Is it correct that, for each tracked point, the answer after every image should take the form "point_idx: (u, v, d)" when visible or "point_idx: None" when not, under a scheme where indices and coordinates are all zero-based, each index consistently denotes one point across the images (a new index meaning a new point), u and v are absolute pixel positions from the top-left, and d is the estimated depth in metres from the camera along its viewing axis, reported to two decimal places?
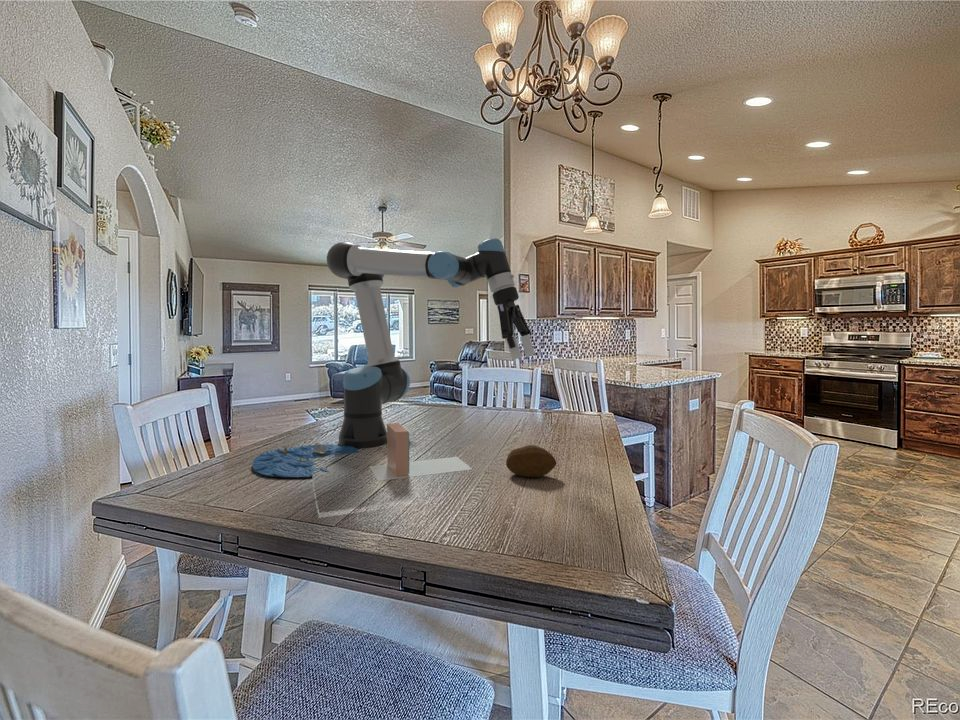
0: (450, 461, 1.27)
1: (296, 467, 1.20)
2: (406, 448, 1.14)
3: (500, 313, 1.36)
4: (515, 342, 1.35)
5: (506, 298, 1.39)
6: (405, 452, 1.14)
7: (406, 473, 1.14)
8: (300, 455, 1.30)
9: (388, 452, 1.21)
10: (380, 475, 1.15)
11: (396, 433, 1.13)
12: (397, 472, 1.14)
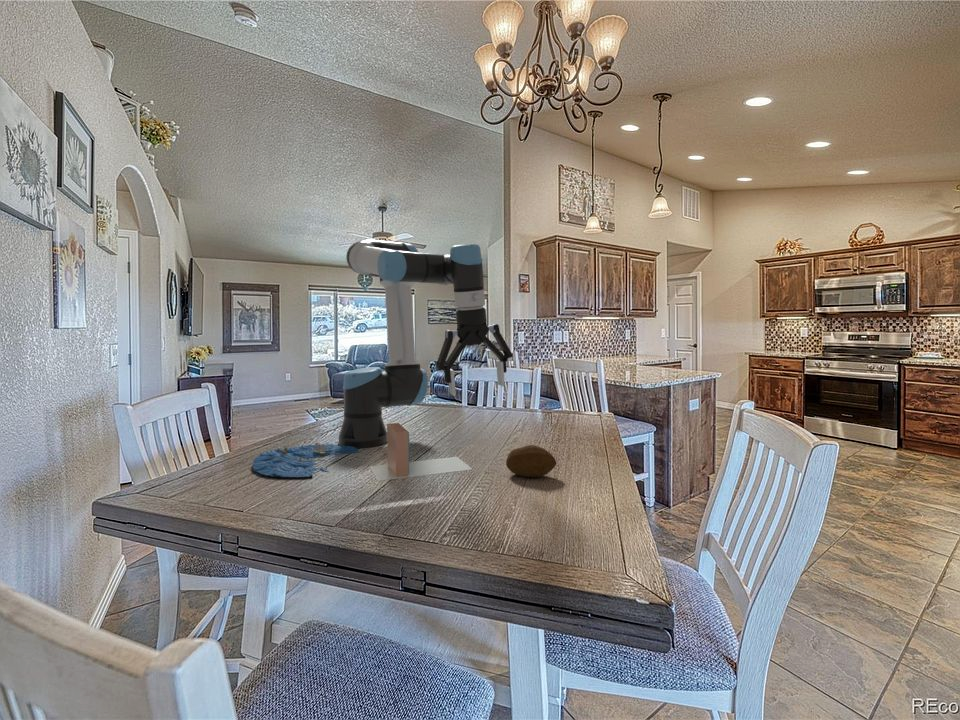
0: (450, 461, 1.27)
1: (296, 467, 1.20)
2: (406, 448, 1.14)
3: (445, 340, 1.18)
4: (451, 377, 1.18)
5: (460, 323, 1.16)
6: (405, 452, 1.14)
7: (406, 473, 1.14)
8: (300, 455, 1.30)
9: (388, 452, 1.21)
10: (380, 475, 1.15)
11: (396, 433, 1.13)
12: (397, 472, 1.14)
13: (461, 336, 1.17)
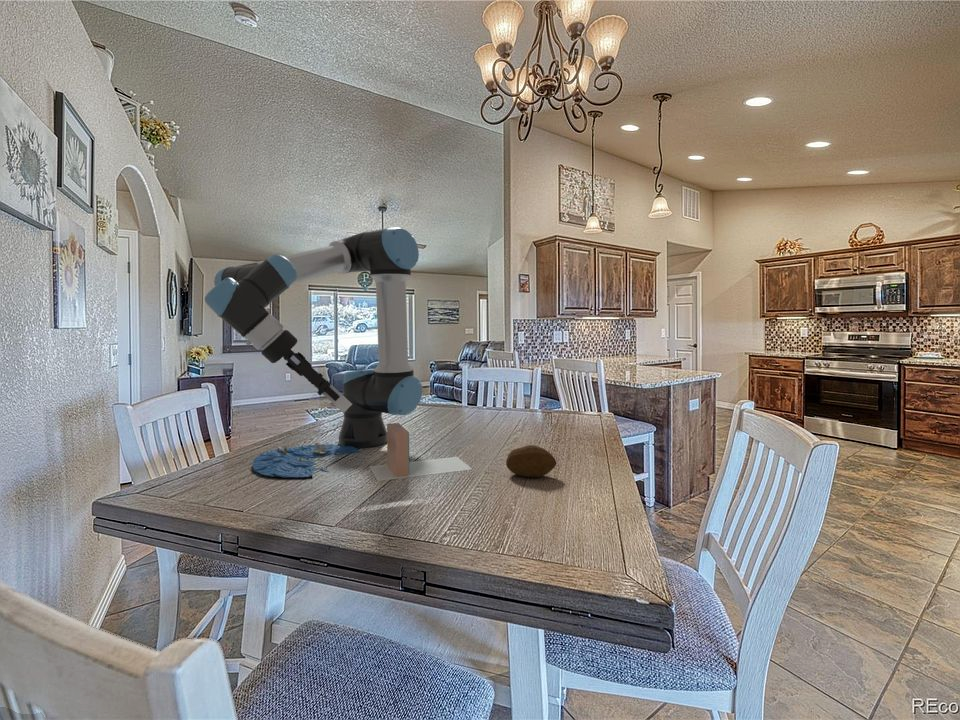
0: (450, 461, 1.27)
1: (296, 467, 1.20)
2: (406, 448, 1.14)
3: None
4: None
5: None
6: (405, 452, 1.14)
7: (406, 473, 1.14)
8: (300, 455, 1.30)
9: (388, 452, 1.21)
10: (380, 475, 1.15)
11: (396, 433, 1.13)
12: (397, 472, 1.14)
13: None
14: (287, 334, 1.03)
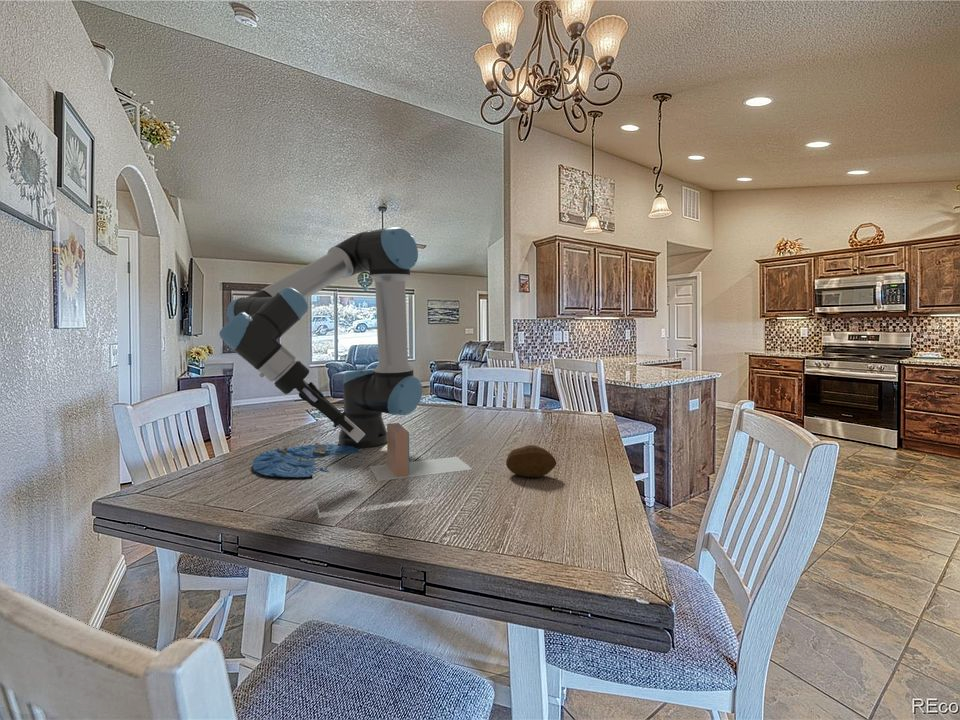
0: (450, 461, 1.27)
1: (296, 467, 1.20)
2: (406, 448, 1.14)
3: None
4: None
5: None
6: (405, 452, 1.14)
7: (406, 473, 1.14)
8: (300, 455, 1.30)
9: (388, 452, 1.21)
10: (380, 475, 1.15)
11: (396, 433, 1.13)
12: (397, 472, 1.14)
13: None
14: (299, 366, 1.05)
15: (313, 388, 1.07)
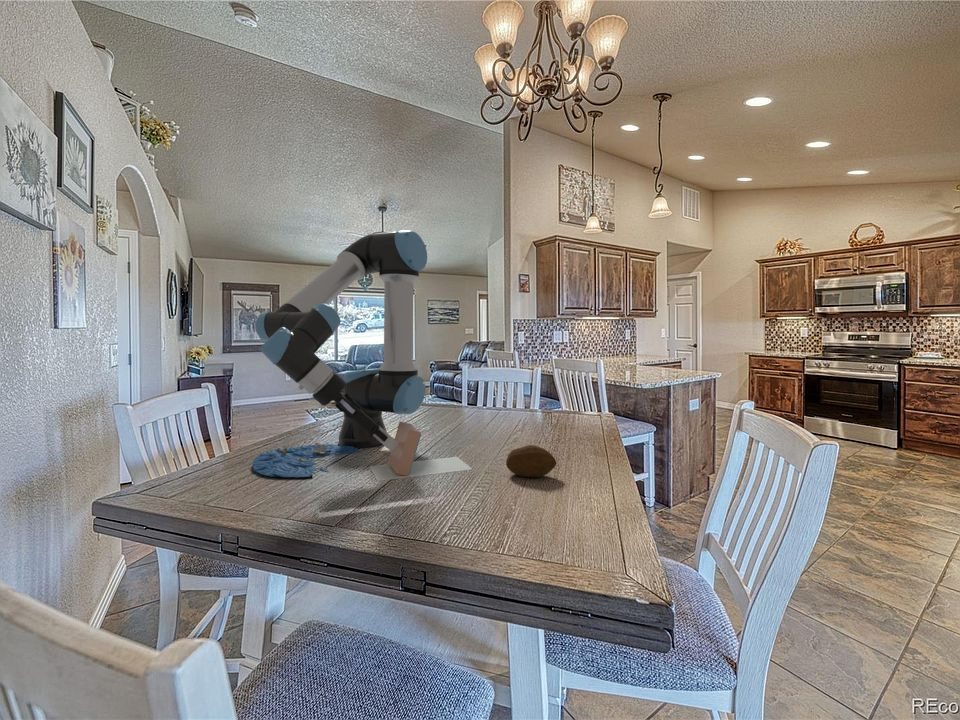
0: (450, 461, 1.27)
1: (296, 467, 1.20)
2: (414, 448, 1.15)
3: None
4: None
5: None
6: (412, 451, 1.15)
7: (407, 473, 1.15)
8: (300, 455, 1.30)
9: (393, 449, 1.22)
10: (380, 475, 1.15)
11: (409, 430, 1.14)
12: (399, 469, 1.14)
13: None
14: (336, 379, 1.09)
15: (350, 399, 1.11)
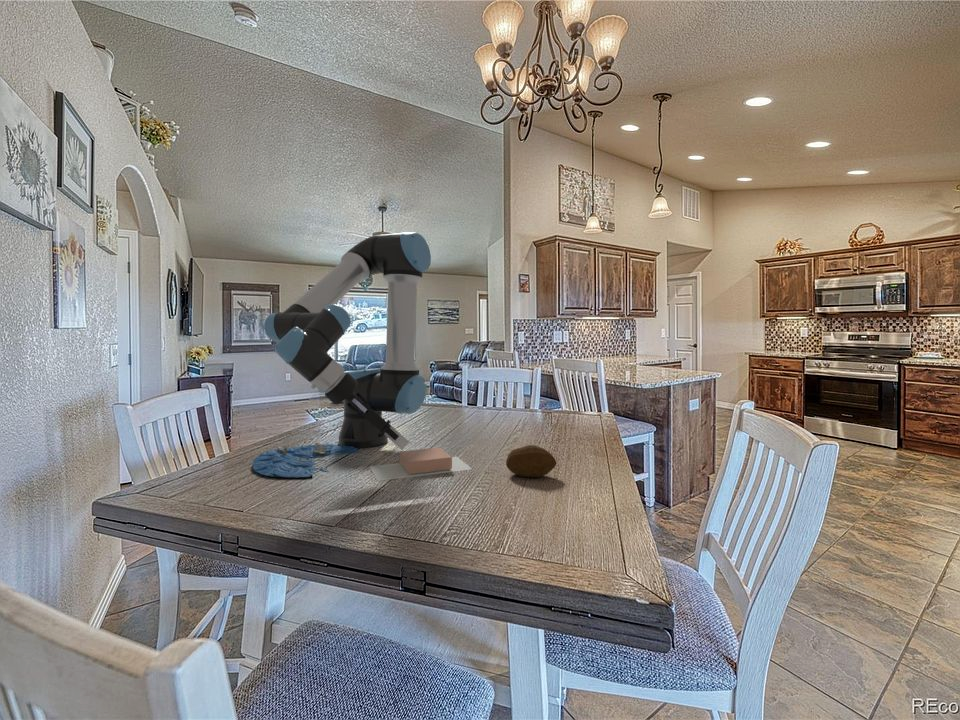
0: None
1: (296, 467, 1.20)
2: (435, 469, 1.17)
3: None
4: None
5: None
6: (432, 468, 1.17)
7: (411, 472, 1.15)
8: (300, 455, 1.30)
9: (415, 451, 1.24)
10: (380, 475, 1.15)
11: (450, 458, 1.19)
12: (413, 463, 1.15)
13: None
14: (348, 378, 1.10)
15: (361, 398, 1.12)
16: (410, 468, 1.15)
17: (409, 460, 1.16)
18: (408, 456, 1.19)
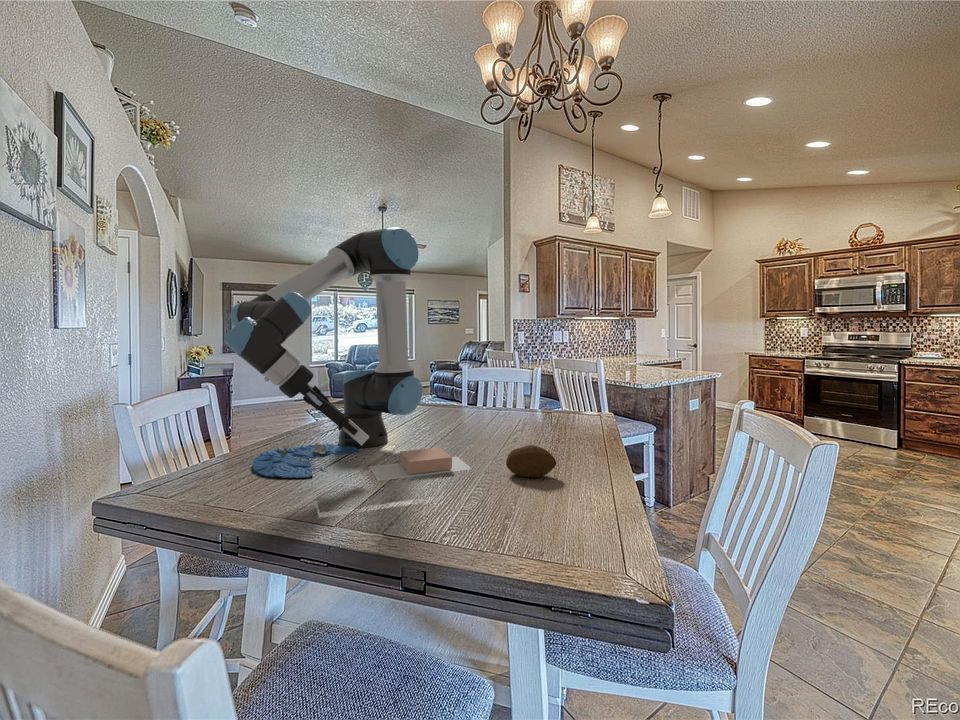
0: None
1: (296, 467, 1.20)
2: (435, 469, 1.17)
3: None
4: None
5: None
6: (432, 468, 1.17)
7: (411, 472, 1.15)
8: (300, 455, 1.30)
9: (415, 451, 1.24)
10: (380, 475, 1.15)
11: (450, 458, 1.19)
12: (413, 463, 1.15)
13: None
14: (303, 370, 1.06)
15: (317, 392, 1.08)
16: (410, 468, 1.15)
17: (409, 460, 1.16)
18: (408, 456, 1.19)
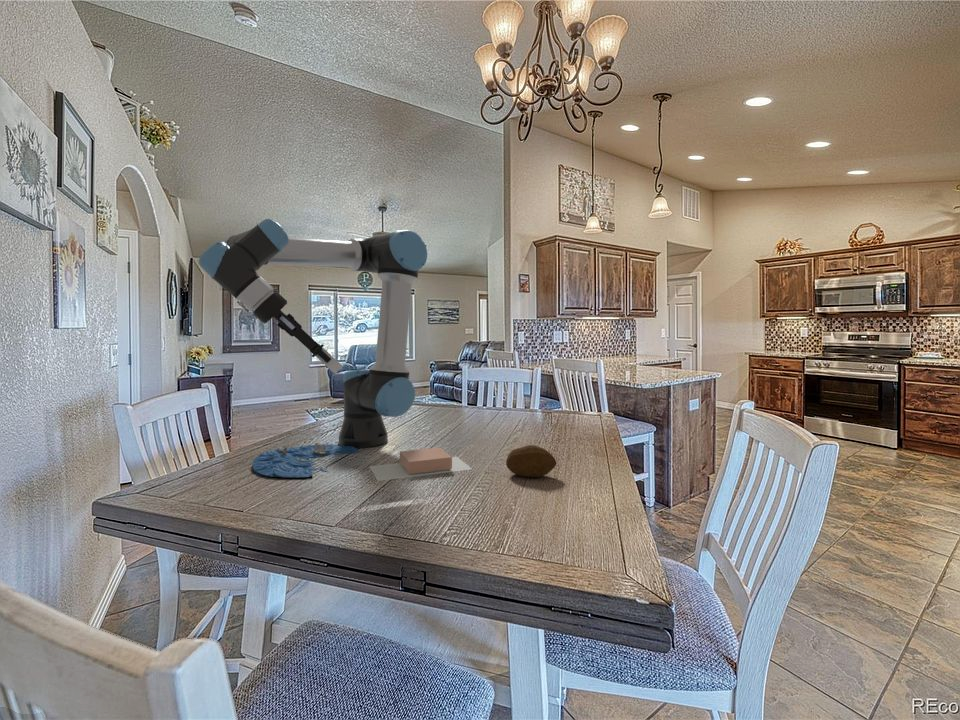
0: None
1: (296, 467, 1.20)
2: (435, 469, 1.17)
3: None
4: None
5: None
6: (432, 468, 1.17)
7: (411, 472, 1.15)
8: (300, 455, 1.30)
9: (415, 451, 1.24)
10: (380, 475, 1.15)
11: (450, 458, 1.19)
12: (413, 463, 1.15)
13: None
14: (276, 296, 1.09)
15: (291, 318, 1.11)
16: (410, 468, 1.15)
17: (409, 460, 1.16)
18: (408, 456, 1.19)
